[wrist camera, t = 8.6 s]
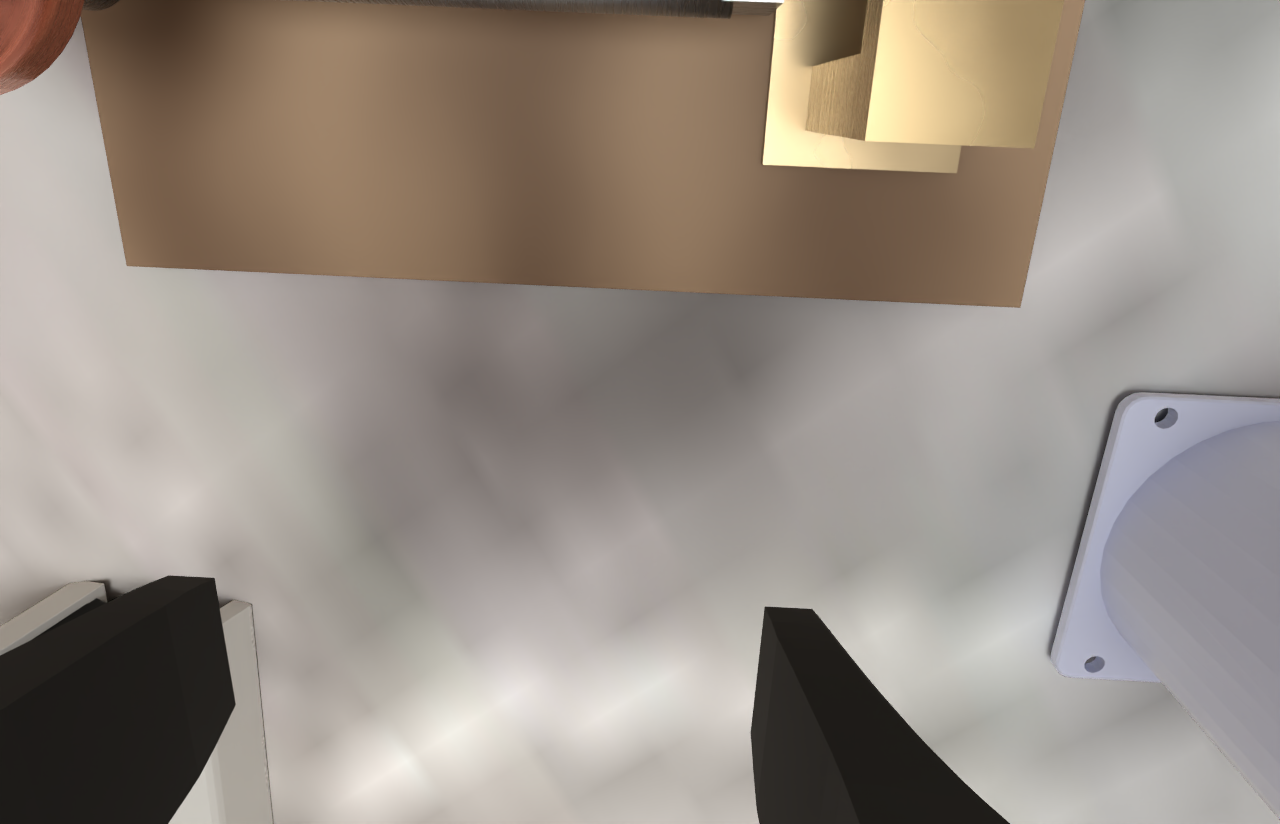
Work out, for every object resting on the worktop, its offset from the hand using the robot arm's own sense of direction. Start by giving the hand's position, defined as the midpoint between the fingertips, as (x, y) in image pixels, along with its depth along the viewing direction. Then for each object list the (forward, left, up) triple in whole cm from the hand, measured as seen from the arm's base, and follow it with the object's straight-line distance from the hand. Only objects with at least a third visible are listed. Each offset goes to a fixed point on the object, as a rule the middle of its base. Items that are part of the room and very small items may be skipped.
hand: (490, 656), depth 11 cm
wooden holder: (-6, -9, -9) cm, 14 cm away
